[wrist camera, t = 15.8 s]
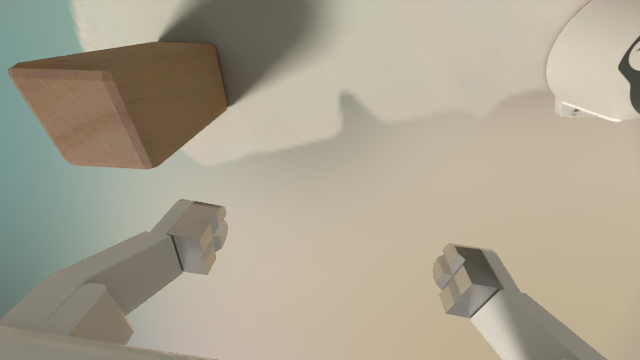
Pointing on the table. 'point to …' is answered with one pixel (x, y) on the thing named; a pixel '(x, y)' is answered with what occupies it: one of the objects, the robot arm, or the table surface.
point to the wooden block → (124, 101)
